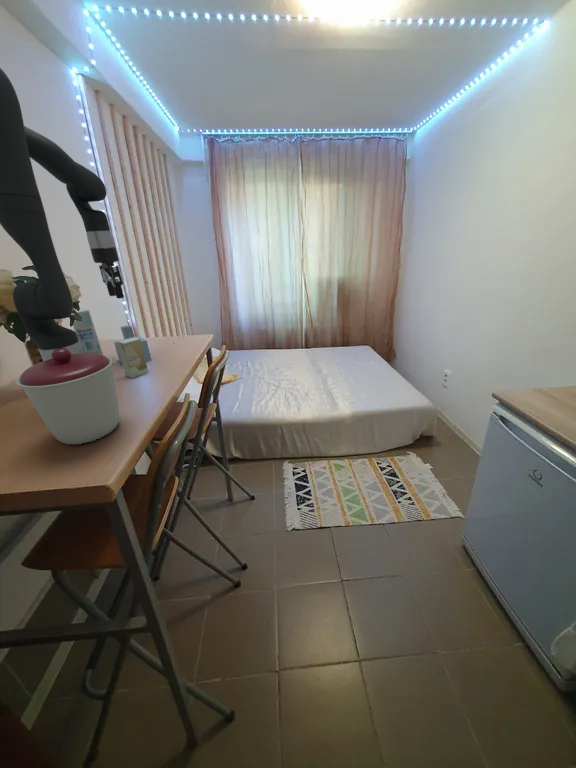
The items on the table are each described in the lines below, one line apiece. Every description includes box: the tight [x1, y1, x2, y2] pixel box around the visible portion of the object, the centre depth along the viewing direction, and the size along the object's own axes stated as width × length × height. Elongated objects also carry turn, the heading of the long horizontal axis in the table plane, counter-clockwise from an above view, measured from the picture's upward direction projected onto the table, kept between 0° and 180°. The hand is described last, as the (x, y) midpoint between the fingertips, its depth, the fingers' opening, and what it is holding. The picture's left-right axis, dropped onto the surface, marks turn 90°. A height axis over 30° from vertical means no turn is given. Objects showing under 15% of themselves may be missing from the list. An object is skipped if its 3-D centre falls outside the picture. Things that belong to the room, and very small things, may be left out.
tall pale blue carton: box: [72, 308, 104, 355], centre depth 118 cm, size 6×6×20 cm
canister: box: [14, 348, 120, 445], centre depth 72 cm, size 18×18×21 cm
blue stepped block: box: [113, 324, 152, 362], centre depth 118 cm, size 9×9×13 cm
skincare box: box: [116, 336, 149, 379], centre depth 106 cm, size 6×4×12 cm
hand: (116, 296), depth 111 cm, fingers open, 8 cm apart
